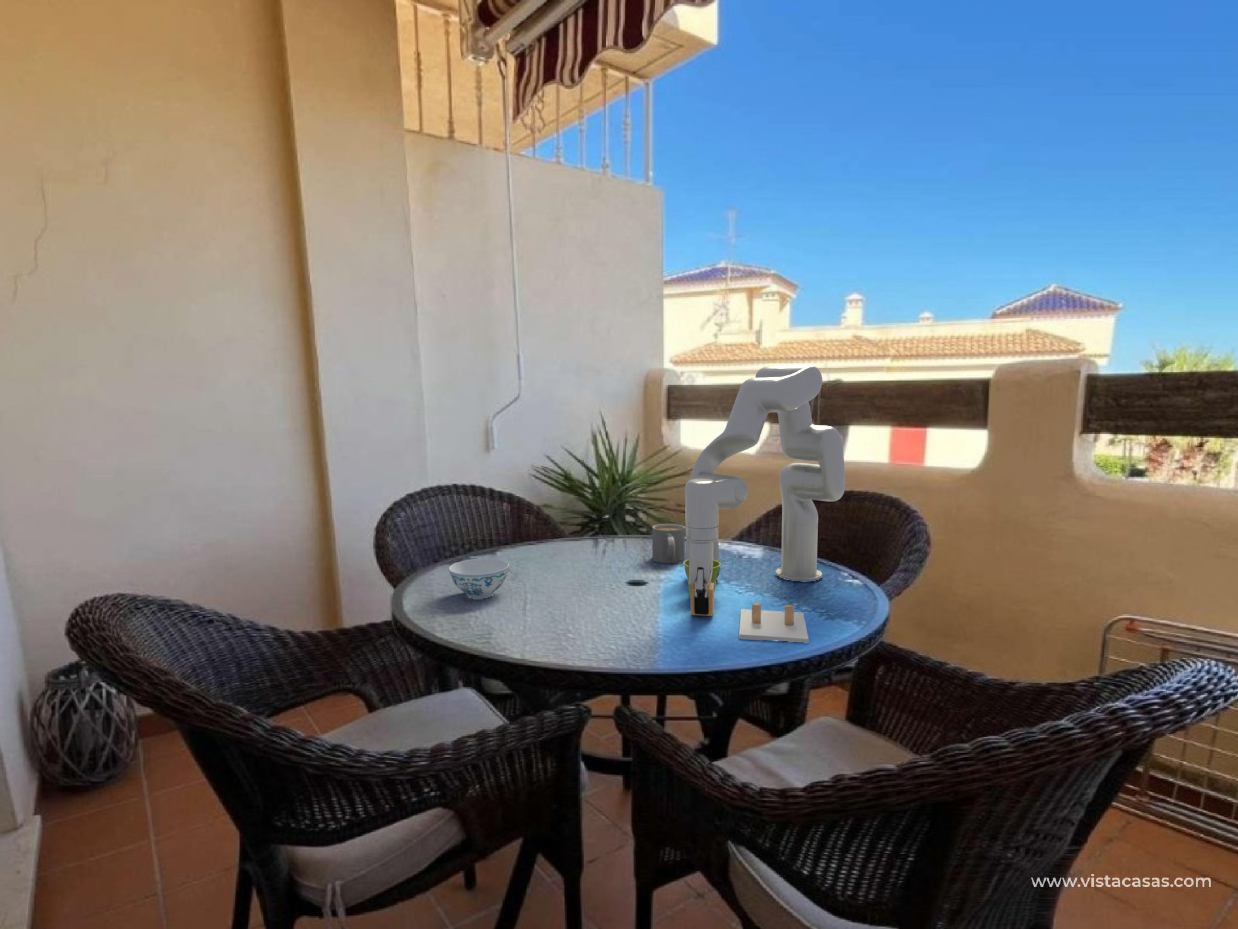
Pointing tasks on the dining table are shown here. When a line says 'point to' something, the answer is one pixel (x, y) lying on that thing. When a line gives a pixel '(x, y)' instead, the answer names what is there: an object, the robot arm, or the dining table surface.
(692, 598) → the tan cardboard-like box
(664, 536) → the coffee mug
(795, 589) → the dining table surface
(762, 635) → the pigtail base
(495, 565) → the chinaware
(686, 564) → the plant pot
